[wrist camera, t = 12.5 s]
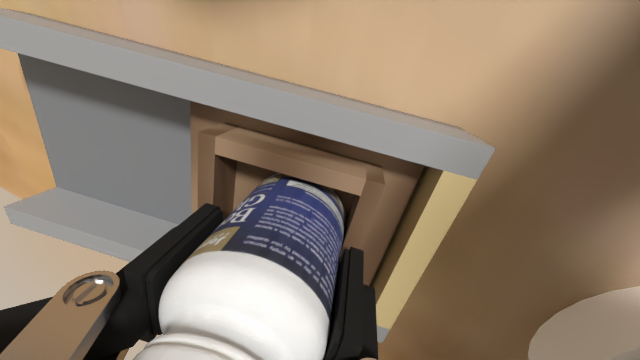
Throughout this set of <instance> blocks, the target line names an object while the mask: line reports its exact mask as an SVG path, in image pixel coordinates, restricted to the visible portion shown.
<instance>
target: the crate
mask: <svg viewBox="0 0 640 360" xmlns="http://www.w3.org/2000/svg"><path fill="white" fill-rule="evenodd" d="M190 115H191V215H192V214H193V213H194V212H195V211H197V210H198V209H199V208H200V207H201V206H203V205H204V204H205V203H209V204H212V205H215V206H219V207H220V211H223V221H224V220H225V219H226V218H227V217H228V216H229V215H230V214H231V213H232V211H234V210H235V209H236V208H237V207H238V206H239V205H240V204H241V203H242V202H243V201H244V199H245V198H246V197H247V196H248V195H249V194H250V193H251V192H252V191H253V190H254V189H255V188H256V187H257V186H258V185H259V184H260V183H262V182H263V181H264V180H265V179H267V178H268V177H270V176H272V175H274V174H277V173H282V174H286V175H289V176H293V177H296V178H299V179H303V180H306V181H310V182H313V183H317V184H320V185H324V186H327V187H331V188H333V190H334V191H335V192H336V193H337V195H338V196H339V198H340V200H341V202H342V204H343V208H344V212H345V229H344V236H343V243H342V250H341V257H340V261H341V258H342V255H343V253H344V250H345V249H348V250H349V249H350V247H354V248H357V249H360V250H363V251H364V267H363V284H365V285H368V286H370V284H371V282H372V279H373V277H374V275H375V273H376V271H377V269H378V267H379V264H380V262H381V260H382V258H383V256H384V254H385V251H386V249H387V247H388V245H389V243H390V241H391V238H392V236H393V234H394V232H395V230H396V228H397V225H398V223H399V221H400V219H401V217H402V215H403V212H404V210H405V208H406V206H407V204H408V202H409V199H410V197H411V195H412V193H413V191H414V189H415V186H416V184H417V182H418V180H419V178H420V176H421V173H422V171H423V169H424V167H425V165H422V164H418V163H414V162H411V161H407V160H404V159H400V158H396V157H393V156H389V155H385V154H382V153H378V152H375V151H371V150H367V149H364V148H360V147H356V146H353V145H349V144H346V143H342V142H338V141H335V140H331V139H327V138H324V137H320V136H317V135H313V134H309V133H306V132H302V131H299V130H295V129H291V128H288V127H284V126H280V125H277V124H273V123H270V122H266V121H262V120H259V119H255V118H251V117H248V116H244V115H241V114H237V113H233V112H230V111H226V110H222V109H219V108H215V107H212V106H208V105H204V104H201V103H197V102H194V101H190Z"/></svg>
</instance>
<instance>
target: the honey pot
mask: <svg viewBox="0 0 640 360" xmlns="http://www.w3.org/2000/svg"><path fill="white" fill-rule="evenodd" d="M528 358H529V360H640V286H638V287H632V288H625V289H619V290H613V291H609V292H606V293H603V294H600V295H596V296H593V297H590V298H587V299H584V300H581V301H579V302H577V303H575V304H573V305H571V306H569V307H567V308H565V309H563V310H561V311H559V312H557V313H556V314H555V315H554V316H552V317H551V318H550V319H549V320H548V321H546V322H545V323H544V324H543V325H541V326H540V327H539V329H538V330H537V332H536V333H535V335H534V336H533V338H532V339H531V341H530V345H529V351H528Z"/></svg>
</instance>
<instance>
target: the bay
mask: <svg viewBox="0 0 640 360" xmlns="http://www.w3.org/2000/svg"><path fill="white" fill-rule="evenodd" d="M0 48H2V49H5V50H9V51H12V52H16V53H18V56H19V59H20V62H21V66H22V69H23V73H24V76H25V80H26V83H27V87H28V90H29V93H30V97H31V100H32V104H33V107H34V111H35V114H36V117H37V121H38V124H39V128H40V131H41V135H42V138H43V141H44V145H45V148H46V152H47V155H48V159H49V162H50V165H51V169H52V172H53V176H54V179H55V183H56V186H57V187H56V188H53V189H50V190H47V191H45V192H42V193H39V194H37V195H34V196H31V197H28V198H26V199H23V200H21V201H18V202H15V203H12V204H10V205H7V206H4V208H5V211H6V213H7V215H8V218H9V220H10V223H11V224H14V225H17V226H21V227H23V228H27V229H29V230H33V231H36V232H39V233H42V234H45V235H48V236H51V237H55V238H57V239H60V240H64V241H67V242H70V243H73V244H76V245H79V246H82V247H85V248H89V249H91V250H95V251H98V252H101V253H104V254H107V255H110V256H113V257H116V258H119V259H122V260H126V261H129V262H131V261H132V260H133V259H135V258H136V257H137V256H138V255H140V254H141V253H142V252H143V251H145V250H146V249H147V248H148V247H150V246H151V245H152V244H153V243H155V242H156V241H157V240H158V239H160V238H161V237H162V236H163V235H165V234H166V233H167V232H168V231H170V230H171V229H172V228H174V227H177V226H178V225H179V224H181V223H182V222H183V221H184V220H185V219H187V218H188V217H189V216H190V215H191V115H190V101H194V102H197V103H201V104H204V105H208V106H212V107H215V108H219V109H222V110H226V111H230V112H233V113H237V114H241V115H244V116H248V117H251V118H255V119H259V120H262V121H266V122H270V123H273V124H277V125H280V126H284V127H288V128H291V129H295V130H299V131H302V132H306V133H309V134H313V135H317V136H320V137H324V138H327V139H331V140H335V141H338V142H342V143H346V144H349V145H353V146H356V147H360V148H364V149H367V150H371V151H375V152H378V153H382V154H385V155H389V156H393V157H396V158H400V159H404V160H407V161H411V162H414V163H418V164H422V165H425V167H424V169H423V171H422V173H421V176H420V178H419V180H418V182H417V184H416V186H415V189H414V191H413V193H412V195H411V197H410V199H409V202H408V204H407V206H406V208H405V210H404V212H403V215H402V217H401V219H400V221H399V223H398V225H397V228H396V230H395V232H394V234H393V236H392V238H391V241H390V243H389V245H388V247H387V249H386V251H385V254H384V256H383V258H382V260H381V262H380V264H379V267H378V269H377V271H376V273H375V275H374V277H373V279H372V282H371V284H370V286H371V287H374V289H375V297H376V320H377V342H380V343H383V341H384V339H385V337H386V336H387V334H388V332H389V331H390V329H391V327H392V325H393V324H394V322H395V320H396V319H397V317H398V315H399V313H400V312H401V310H402V308H403V307H404V305H405V303H406V301H407V300H408V298H409V296H410V295H411V293H412V291H413V289H414V288H415V286H416V284H417V283H418V281H419V279H420V277H421V276H422V274H423V272H424V271H425V269H426V267H427V265H428V264H429V262H430V260H431V259H432V257H433V255H434V253H435V252H436V250H437V248H438V247H439V245H440V243H441V241H442V240H443V238H444V236H445V235H446V233H447V231H448V229H449V228H450V226H451V224H452V223H453V221H454V219H455V218H456V216H457V214H458V212H459V211H460V209H461V207H462V206H463V204H464V202H465V200H466V199H467V197H468V195H469V194H470V192H471V190H472V188H473V187H474V185H475V183H476V182H477V180H478V178H479V176H480V175H481V173H482V171H483V170H484V168H485V166H486V164H487V163H488V161H489V159H490V158H491V156H492V154H493V152H494V151H495V149H496V148H495V147H493V146H491V145H489V144H488V143H486V142H484V141H482V140H481V139H479V138H477V137H475V136H474V135H472V134H470V133H468V132H467V131H465V130H463V129H461V128H459V127H456V126H452V125H449V124H445V123H441V122H437V121H434V120H430V119H426V118H422V117H418V116H415V115H411V114H407V113H403V112H400V111H396V110H392V109H388V108H384V107H381V106H377V105H373V104H369V103H366V102H362V101H358V100H354V99H350V98H347V97H343V96H339V95H335V94H332V93H328V92H324V91H320V90H316V89H313V88H309V87H305V86H301V85H298V84H294V83H290V82H286V81H283V80H279V79H275V78H271V77H267V76H264V75H260V74H256V73H252V72H249V71H245V70H241V69H237V68H233V67H230V66H226V65H222V64H218V63H215V62H211V61H207V60H203V59H199V58H196V57H192V56H188V55H184V54H181V53H177V52H173V51H169V50H165V49H162V48H158V47H154V46H150V45H147V44H143V43H139V42H135V41H131V40H128V39H124V38H120V37H116V36H113V35H109V34H105V33H101V32H97V31H94V30H90V29H86V28H82V27H79V26H75V25H71V24H67V23H63V22H60V21H56V20H52V19H48V18H45V17H41V16H37V15H33V14H29V13H25V12H19V11H14V10H8V9H3V8H0Z"/></svg>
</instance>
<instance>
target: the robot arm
mask: <svg viewBox="0 0 640 360" xmlns="http://www.w3.org/2000/svg"><path fill="white" fill-rule="evenodd" d="M222 222H223V211H220V207H219V206H215V205H212V204H209V203H205V204H204V205H203V206H201V207H200V208H199V209H198V210H197V211H195V212H194V213H193V214H192V215H190V216H189V217H188V218H187V219H185V220H184V221H183V222H182V223H181V224H179V225H178V226H177V227H174V228H172V229H171V230H170V231H168V232H167V233H166V234H165V235H163V236H162V237H161V238H160V239H158V240H157V241H156V242H155V243H153V244H152V245H151V246H150V247H148V248H147V249H146V250H145V251H143V252H142V253H141V254H140V255H138V256H137V257H136V258H135V259H133V260H132V261H131V262H130V263H129V264H127V265H126V266H125V267H124V268H122V269H121V270H120V271H119V272H117V273H116V274H115V273H113V272H109V271H95V272H91V273H86V274H84V275H81V276H79V277H77V278H75V279H73V280H72V281H70V282H68V283H67V284H66V285H65V286H63V287H62V288H61V289H60V290H59V291H58V292H57V293H56V295H55V296H54V297H50V298H46V299H43V300H39V301H35V302H31V303H27V304H23V305H19V306H16V307H12V308H8V309H4V310H0V360H124V358H125V356H126V354H127V352H128V350H129V348H131V347H133V346H134V345H135V343H136V342H137V341H138V340H139V339H140V340H143V341H146V342H148V343H149V342H150V341H152V340H153V339H154V338H155V337H156V335H161V334H162V331H161V328H160V323H159V303H160V298H161V295H162V292H163V290H164V288H165V286H166V284H167V282H168V281H169V280H170V278H171V277H172V276H173V274H174V273H175V272H176V271H177V270H178V269H179V267H180V266H181V265H182V264H183V263H184V262H185V260H186V259H187V258H188V257H189V256H190V255H191V254H193V252H194V251H195V250H196V249H197V248H198V247H199V246H200V245H201V244H202V243H203V242H204V241H205V240H206V239H207V238H208V237H209V236H210V235H211V234H212V233H213V232H214V231H215V230H216V229H217V227H218V226H219V225H220V224H221V223H222ZM363 267H364V251H363V250H360V249H357V248H354V247H350V249H349V250H348V249H345V250H344V253H343V255H342V258H341V261H340V264H339V270H338V277H337V284H336V291H335V299H334V306H333V313H332V320H331V327H330V333H329V338H328V344H327V348H326V352H325V356H324V358H323V360H378V343H377V320H376V297H375V289H374V287H371V286H368V285H365V284H363Z"/></svg>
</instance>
